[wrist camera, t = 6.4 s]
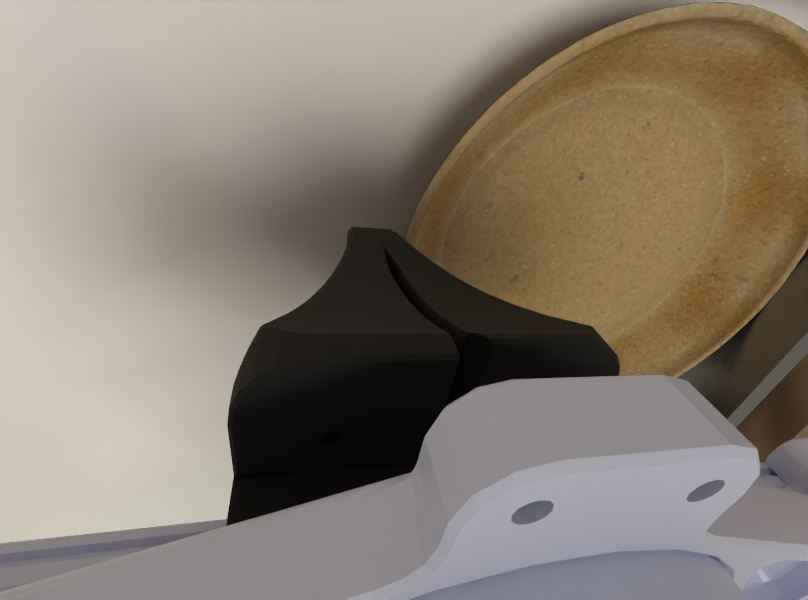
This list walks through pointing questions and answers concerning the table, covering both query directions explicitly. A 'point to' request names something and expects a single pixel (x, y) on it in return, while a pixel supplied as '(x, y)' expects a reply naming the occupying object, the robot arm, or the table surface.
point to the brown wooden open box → (780, 413)
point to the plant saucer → (638, 183)
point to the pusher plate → (757, 352)
